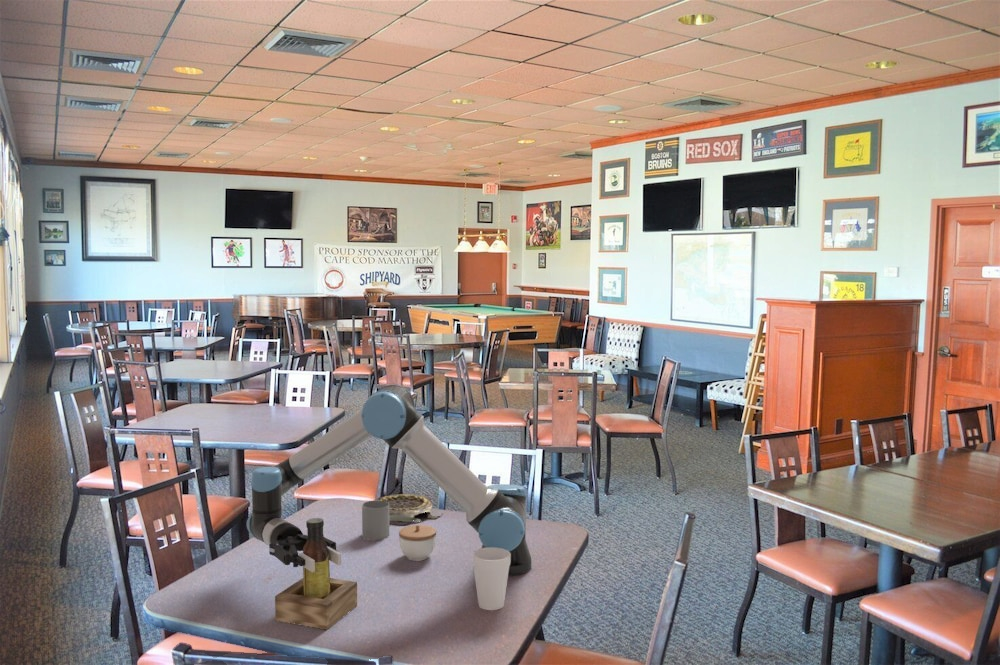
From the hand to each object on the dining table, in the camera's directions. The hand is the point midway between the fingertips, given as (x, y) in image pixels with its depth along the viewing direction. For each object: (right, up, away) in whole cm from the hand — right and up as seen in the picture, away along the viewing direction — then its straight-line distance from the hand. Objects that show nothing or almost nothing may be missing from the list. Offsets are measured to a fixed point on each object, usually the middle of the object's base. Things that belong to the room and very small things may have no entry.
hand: (326, 562), depth 183 cm
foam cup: (+39, -14, +11) cm, 42 cm away
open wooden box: (-3, -14, +5) cm, 15 cm away
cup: (+2, -9, +60) cm, 61 cm away
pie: (+7, -8, +84) cm, 84 cm away
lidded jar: (+17, -11, +42) cm, 47 cm away
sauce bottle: (-4, -11, +5) cm, 12 cm away
